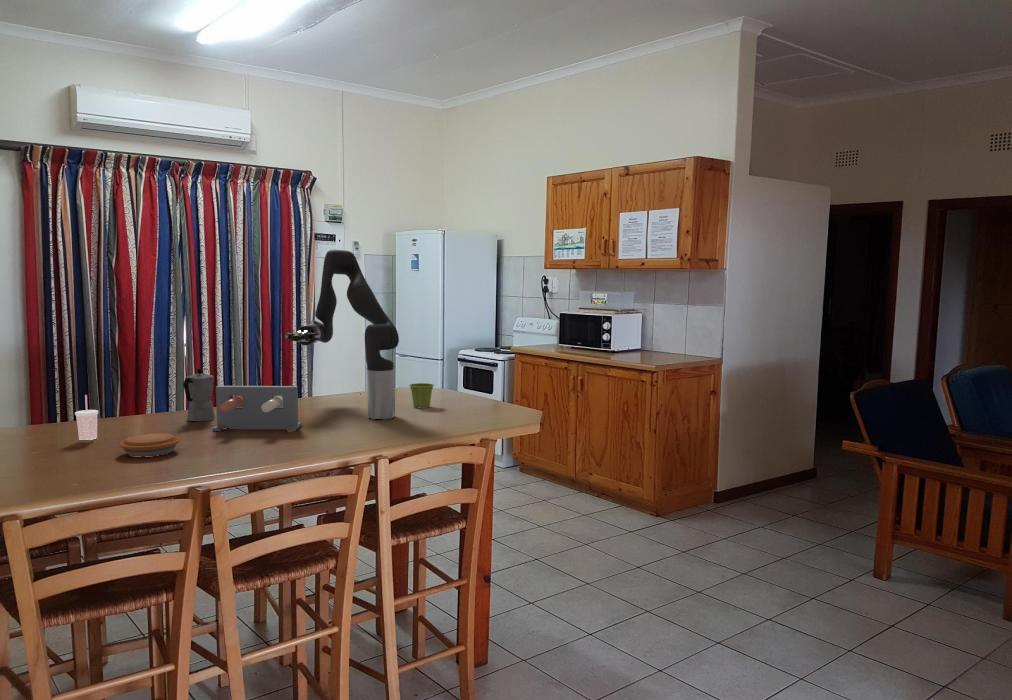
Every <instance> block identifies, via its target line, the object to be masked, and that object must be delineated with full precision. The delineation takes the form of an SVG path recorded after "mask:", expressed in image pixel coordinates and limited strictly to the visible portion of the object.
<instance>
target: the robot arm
mask: <svg viewBox="0 0 1012 700" xmlns="http://www.w3.org/2000/svg"><path fill="white" fill-rule="evenodd" d="M322 266H323V267H322V272H321V273H322V275H321V285H320V293H319V298H318V302H317V305H316V310H315V314H314V317H315V318H316V319H317V320H318V321H317V320H311V321H309V322H308V324H304V325H301V326H299V327H298V328H297V329H296V331H295V332H293V333H291V332H286V333H285V341H291V342H293V341H294V342H297V343H298V344H300V345H302V346H310V345H313V344H316V343H317V342H321V343H324V344H325V343H326V344H327V343H329V342H330V341H331V340H332V338H333V337H334V327H333V326H334V325H333V324H334V315H335V311H336V308H337V304H338V302H337V301H338V300H337V295H336V292H335V289H334V287H333V277H334V275H343V276H344V275H345V276H347V278H348V279H349V281H350V282H349V284H348V287H347V290H346V298H347V300H348V302H349V304H350V306H351V308H352V310H353V311H354V312H355V313H356V314H357V315H359V316H361V317H362V318H364V319H365V320H366V321H368V322H369V323H370V324H369V325H367V326H366V328H365V330H364V348H365V362H366V374H367V375H366V376H367V377H366V378H367V379H366V380H367V382H366V383H367V387H366V388H367V393H366V394H367V418H368V419H369V418H371V419H370V420H375V419H383V420H393V419H394V418H395V417H396V390H395V388H394V387H395V386H394V384H395V380H394V379H395V377H394V373H395V370H394V367H395V366H394V364H395V363H394V362H393V361H392V359H391V360H390V359H388V358H387V359H386V358H384V357H383V356H382V355H381V351H389V350H394V349H395V348H396V347H398V345H399V341H400V337H399V332H398V329H397V328H396V326H395V324H394V323H393V321H391V319H390V317H389V316H388V315H387V314H386V313H385V311H384V309H383V308H382V306H381V305H380V303H379V301H378V299H377V297H376V296H375V293H374V292H373V290H372V288H371V287H370V286H369V283H368V282H367V280H366V278H365V275H364V274H363V272H362V270H361V267H360V265H359V263H358V260H357V257H356V256H355V254H354V253H353V252H352V251H349V250H346V249H345V250H344V249H343V250H342V249H329V250H328V251H327V252H326V254H325V256H324V260H323V265H322ZM371 323H372V324H371ZM394 416H395V417H394ZM393 417H394V418H393ZM392 418H393V419H392Z"/></svg>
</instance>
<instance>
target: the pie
mask: <svg viewBox="0 0 1012 700" xmlns="http://www.w3.org/2000/svg"><path fill="white" fill-rule="evenodd" d="M180 440H181V438H180V437H179V436H177V435H174V434H173V433H164V432H162V433H161V432H160V433H159V432H154V433H143V434H137V435H132V436H129V437H126V438H125V439H124V440H121V441H120V442H119V446H120V447H121V449H123V451H124V452H125V454H126V455H127V454H128V455H131V456H141V457H145V456H157V455H163V454H167V453H170V452H171V453H173V451H174V449H175V447H176V446H177V445H178V444H179V443H180ZM171 453H170V454H171ZM128 455H127V456H128ZM167 455H168V454H167Z"/></svg>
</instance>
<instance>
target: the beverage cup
mask: <svg viewBox="0 0 1012 700" xmlns="http://www.w3.org/2000/svg"><path fill="white" fill-rule="evenodd" d="M84 398H85V399H84V401H85V410H83V409H82V410H76V411H75V412H74V416H76V417H75V418H76V425H77V431H78V432H77V433H78V441H79V440H93V439H96V438H97V439H98V414H99V410H97V409H88V395H87V394H85V395H84Z"/></svg>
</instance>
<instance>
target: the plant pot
mask: <svg viewBox="0 0 1012 700" xmlns="http://www.w3.org/2000/svg"><path fill="white" fill-rule="evenodd" d="M408 386H409V388H410V390H411V396H412V403H413V408H417V407H426V408H430V407H429V406H431V399H432V393H433V392H432V391H433V388H434V386H435V384H433V383H427V382H426V383H425V382H424V383H422V382H421V383H420V382H419V383H410V384H408Z"/></svg>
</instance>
